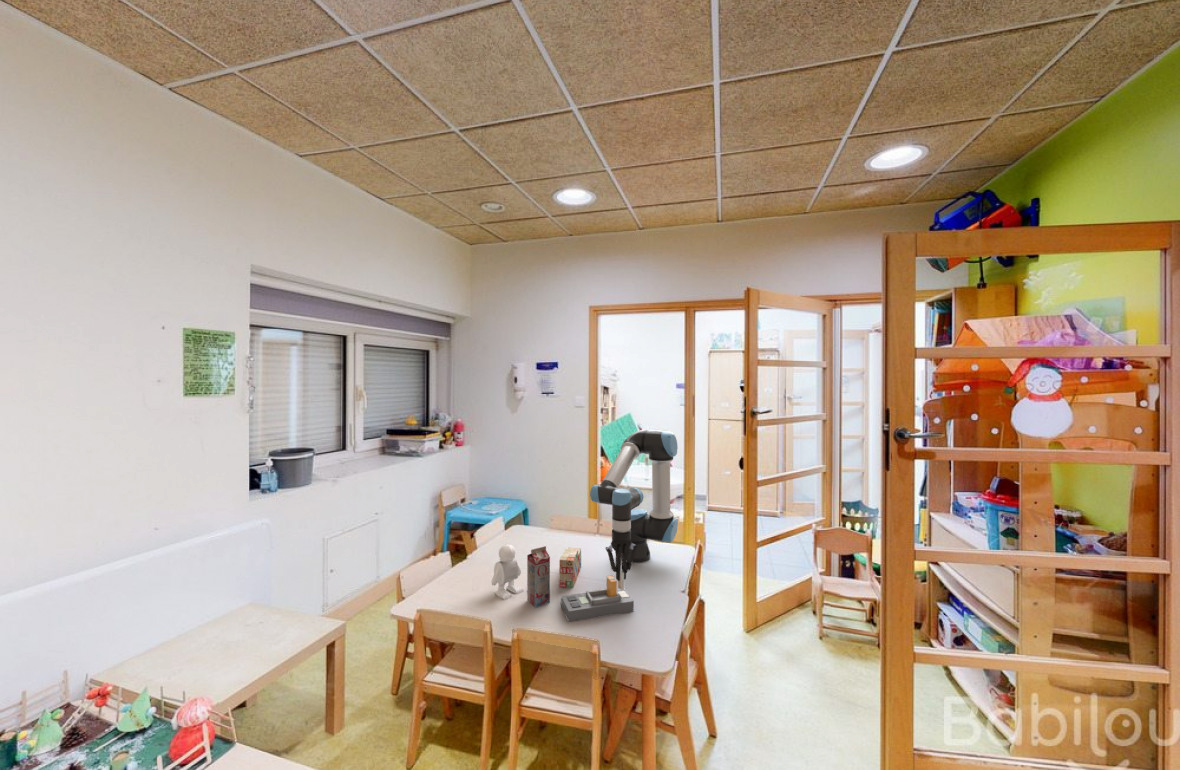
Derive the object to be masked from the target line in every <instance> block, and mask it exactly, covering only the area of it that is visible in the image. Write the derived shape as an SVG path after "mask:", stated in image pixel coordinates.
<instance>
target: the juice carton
mask: <svg viewBox="0 0 1180 770" xmlns="http://www.w3.org/2000/svg"><path fill="white" fill-rule="evenodd" d="M526 561H527V563H526V564H527V565H526V566H527V567H526V569H527V570H526V571H527V578H526V582H527V585H526V592H527V593H526V594H527V595H526V597H527V598H526V601H527V602H528V603H530V605H531V606H533V607H534V608H537V607H540V606H543V605H547V604H549V603H550V602H551V599H550V597H551V592H550V591H551V584H550V583H551V582H550V581H551V569H550V568H551V556H550V554H549V553H548V551H547V545H546V546H544V545H543V546H541V547H537V548H534V549H531V550H530V553H528V554H527V557H526Z"/></svg>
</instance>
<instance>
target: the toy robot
mask: <svg viewBox="0 0 1180 770" xmlns="http://www.w3.org/2000/svg"><path fill="white" fill-rule="evenodd" d="M498 557H499V561H497V562H495V564H494V568H493V577H492V579H491V585H492V586H494V587H495V586H497V584H498V588H497V590H496V591H494V595H496V596H498V597H499V598H501V600H506V599H508V598H510V597H512V596H511V593H510V592H512V593H514V594H516V595H517V594H520V593H522V592H524V588H522V587H519V585H516V584H515V580H517V579H518V578H519V576H521V574H522V570H521V568H520V567H519V565H518V561H517V560H516V549H515V547H514V546H513V545H511V544H508V543H506V544H504V545H502V546H501V547H500V548H499V550H498ZM507 583H508V585H507V586H506V584H507ZM505 586H506V589H507V590H506V589H505ZM509 591H510V592H509Z"/></svg>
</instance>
